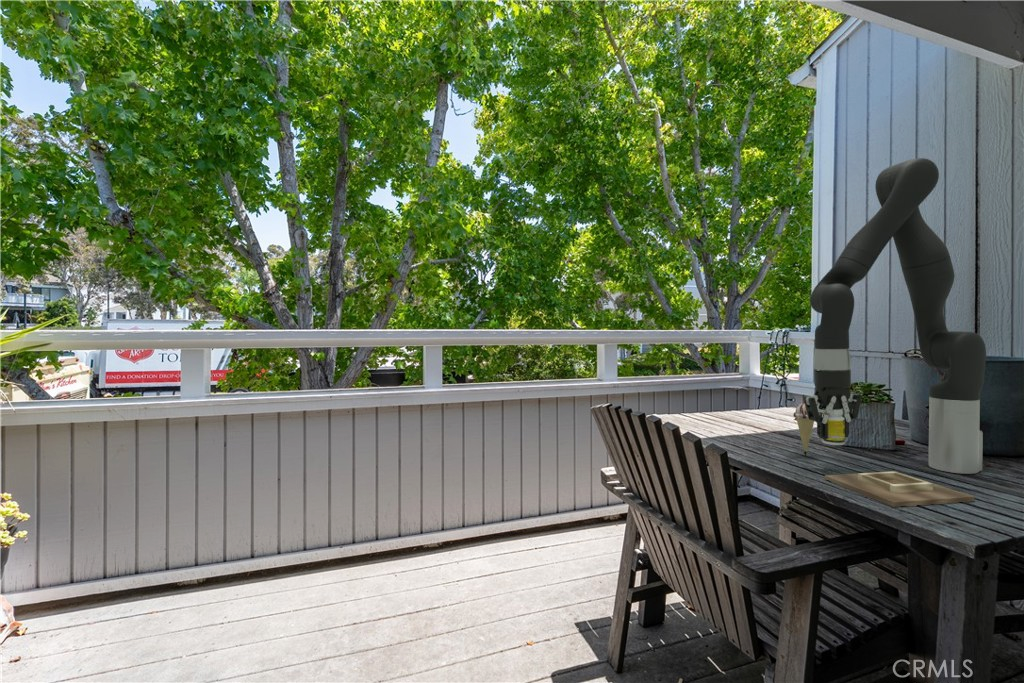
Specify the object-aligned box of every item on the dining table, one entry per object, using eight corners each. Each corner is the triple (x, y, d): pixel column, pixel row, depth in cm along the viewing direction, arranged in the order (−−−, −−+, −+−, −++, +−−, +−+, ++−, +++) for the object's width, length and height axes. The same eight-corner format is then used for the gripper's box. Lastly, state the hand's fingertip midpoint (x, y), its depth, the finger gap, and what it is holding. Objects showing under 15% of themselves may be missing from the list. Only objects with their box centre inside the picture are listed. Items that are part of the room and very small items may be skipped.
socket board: (894, 475, 119) (894, 464, 119) (974, 501, 101) (974, 489, 101) (824, 479, 116) (824, 468, 116) (894, 507, 98) (894, 494, 98)
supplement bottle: (848, 445, 120) (848, 410, 120) (826, 445, 121) (825, 410, 121) (840, 441, 125) (839, 406, 125) (818, 440, 126) (818, 406, 126)
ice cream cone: (822, 459, 134) (822, 402, 133) (800, 459, 134) (800, 402, 133) (809, 454, 139) (810, 399, 139) (788, 454, 139) (789, 399, 139)
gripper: (846, 364, 127) (847, 432, 128) (794, 367, 126) (795, 436, 126) (871, 367, 120) (872, 439, 120) (816, 370, 118) (817, 443, 119)
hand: (833, 437), depth 123 cm, fingers closed on supplement bottle, 4 cm apart
